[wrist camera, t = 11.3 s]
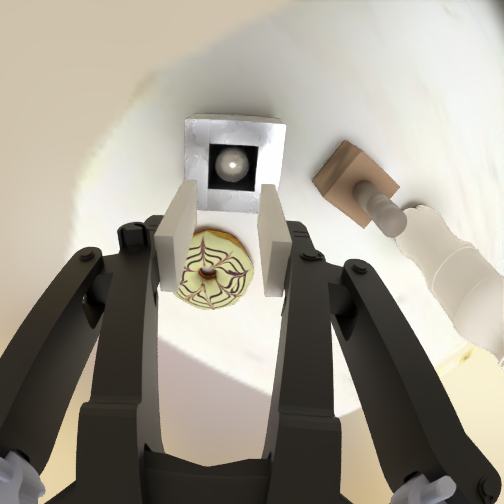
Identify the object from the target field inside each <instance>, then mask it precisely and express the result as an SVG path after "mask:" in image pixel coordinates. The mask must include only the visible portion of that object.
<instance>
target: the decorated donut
mask: <svg viewBox="0 0 504 504" xmlns="http://www.w3.org/2000/svg"><path fill="white" fill-rule="evenodd" d="M202 267H206V268H211V269H216V270H217V272H216V273H215V274H214V275H212V276H206V275H204V274H203V273H202V272H201V270H200V268H202ZM253 274H254V267H253V264H252V263H251V261H250V259H249V258H248V255H247V253H246V252H245V249H244V248H243V246H242V245H241V244H240V243H239V241H238V240H237V239H235V238H234V237H233V236H232V235H230V234H228V233H222V232H218V231H212V230H205V231H202V232H200V233H197V234H194V235H193V237H192V241H191V244H190V248H189V251H188V255H187V259H186V262H185V266H184V270H183V274H182V277H181V281H180V285H179V289H178V292H173V293H174V294H175V295H176V296H177V297H178V298H179V299H181V300H183V301H184V302H186V303H188V304H190V305H192V306H194V307H197V308H199V309H203V310H209V309H212V310H215V309H220V308H223V307H226V306H230V305H233V304H235V303H236V302H237V301H238V300H239V298H240V297H242V296H243V295H245V293H246V291H247V288H248V286H249V284H250V282H251V280H252V278H253Z"/></svg>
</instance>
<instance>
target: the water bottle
mask: <svg viewBox="0 0 504 504" xmlns="http://www.w3.org/2000/svg"><path fill="white" fill-rule="evenodd" d="M403 212H404V213H405V215H406V216H407V226H406V228H405V230H404V231H403V232H402V233H401V234H400V235H399V236H396V237H395V240H396V243H397V246H398V248H399V249H400V251H401V252H402V254H403V255H404V256H405V257H407V258H409V259H411V260H412V261H413V262H414V263H415V264H416V265H417V266H418V267H419V269H420V270H421V272H422V274H423V276H424V278H425V280H426V283H427V286H428V289H429V291H430V292H431V294H432V295H433V296H434V298H435V299H437V300H438V302H439V303H440V305H441V306H442V308H443V309H444V311H445V312H446V314H447V315H448V317H449V318H450V320H451V321H452V323H453V326H454V329H455V330H456V331H457V333H458V334H459V335H460V336H461V337H462V338H464V339H465V340H467V341H468V342H470V343H472V344H474V345H476V346H478V347H481V348H483V349H485V350H487V351H489V352H491V353H492V354H493V355H494V356H495V357H496V358H497V359H498V361H499V362H498V366H499V367H503V368H502V369H503V371H504V277H503V276H502V275H500V274H499V273H498V272H497V271H496V270H495V269H494V268H493V266H492V265H491V264H490V263H489V262H488V261H487V260H486V259H485V258H484V257H483V256H482V255H481V254H480V252H479V250H478V249H477V248H476V247H475V246H474V245H473V244H472V243H469V242H465V241H463V240H461V239H459V238H458V237H456V236H455V235H454V234H453V233H452V232H451V230H450V229H449V228H448V226H447V224H446V223H445V221H444V219H443V217H442V216H441V215H440V214H439V213H438V212H436V211H435V210H434V209H432V208H430V207H427V206H424V205H419V206H416V209H415V208H407V209H405V210H403Z"/></svg>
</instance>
